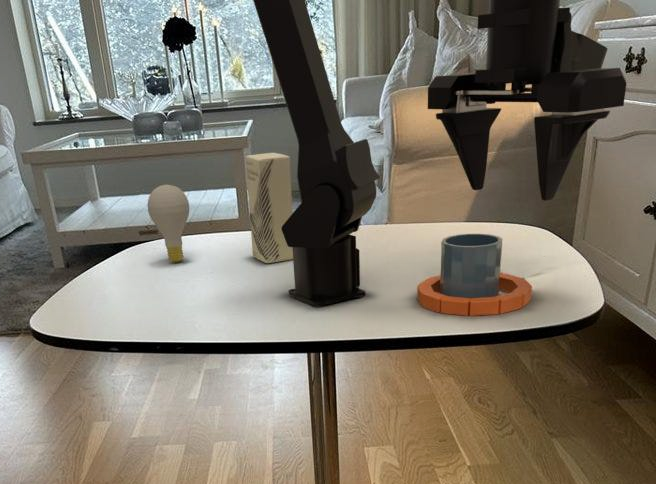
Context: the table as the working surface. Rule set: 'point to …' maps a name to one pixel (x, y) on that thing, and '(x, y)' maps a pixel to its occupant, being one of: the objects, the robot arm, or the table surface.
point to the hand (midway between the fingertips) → (510, 194)
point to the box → (269, 205)
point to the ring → (476, 306)
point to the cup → (470, 265)
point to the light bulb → (169, 217)
